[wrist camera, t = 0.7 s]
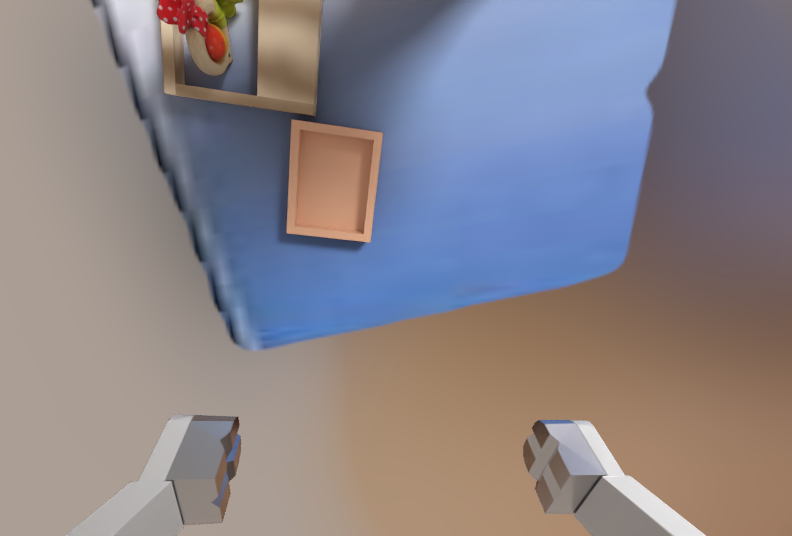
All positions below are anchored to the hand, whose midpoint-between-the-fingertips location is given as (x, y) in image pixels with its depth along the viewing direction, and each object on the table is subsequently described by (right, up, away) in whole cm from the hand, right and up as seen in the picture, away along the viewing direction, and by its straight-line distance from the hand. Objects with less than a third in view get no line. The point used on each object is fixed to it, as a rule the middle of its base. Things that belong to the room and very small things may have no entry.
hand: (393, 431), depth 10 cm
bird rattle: (-20, +31, +33) cm, 50 cm away
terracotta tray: (-8, +16, +39) cm, 43 cm away
